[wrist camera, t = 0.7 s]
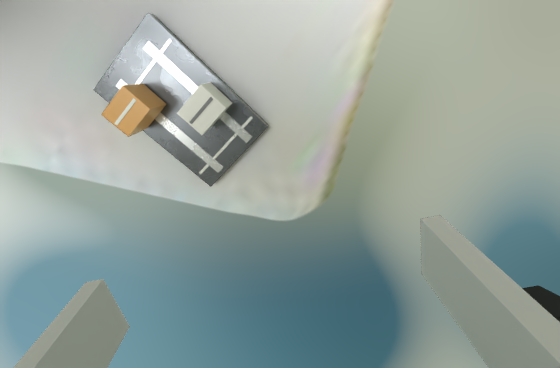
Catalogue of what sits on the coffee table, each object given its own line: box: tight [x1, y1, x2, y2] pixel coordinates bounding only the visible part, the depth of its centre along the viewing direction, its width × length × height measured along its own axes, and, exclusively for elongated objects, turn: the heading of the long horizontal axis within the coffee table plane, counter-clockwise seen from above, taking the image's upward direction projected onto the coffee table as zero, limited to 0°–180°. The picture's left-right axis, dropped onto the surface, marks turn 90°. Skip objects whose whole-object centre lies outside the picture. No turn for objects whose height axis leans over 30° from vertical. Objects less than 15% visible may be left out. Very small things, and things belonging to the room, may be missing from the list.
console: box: [94, 13, 268, 186], centre depth 32 cm, size 16×10×2 cm, turn 46°
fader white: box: [177, 82, 232, 135], centre depth 29 cm, size 3×4×4 cm
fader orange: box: [101, 84, 166, 137], centre depth 29 cm, size 3×4×4 cm
